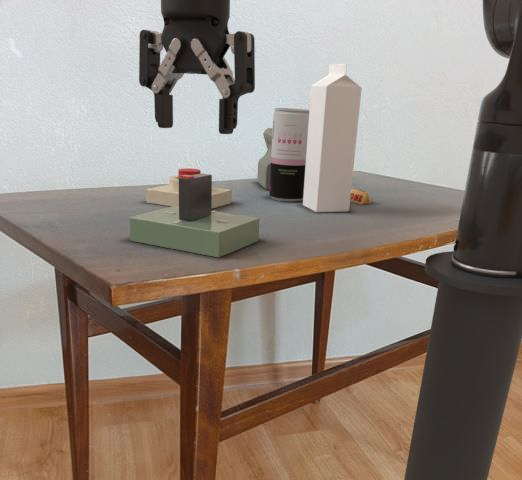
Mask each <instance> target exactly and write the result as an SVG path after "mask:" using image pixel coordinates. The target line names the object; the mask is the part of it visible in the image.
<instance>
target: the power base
mask: <svg viewBox="0 0 522 480" xmlns="http://www.w3.org/2000/svg"><path fill="white" fill-rule="evenodd" d="M232 193H233V190H232V189H226V188H219V187H213V186H212V209H216V208H220V207H224V206H226V205H230V204H232V200H233V199H232V198H233V194H232ZM145 196H146V198H145V199H146V203H147V204H153V205H160V206H166V207H172V206H176V205H177V206H179V179H178V175H173V176H170V177H169V178H168V184H165V185H159V186H155V187H149V188H146V190H145ZM212 209H211V210H212Z"/></svg>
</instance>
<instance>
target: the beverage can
mask: <svg viewBox="0 0 522 480" xmlns="http://www.w3.org/2000/svg"><path fill="white" fill-rule="evenodd" d="M309 110H310V109H308V108H307V109H306V108H294V107H293V108H292V107H291V108H289V107H274V111H273V113H272V128H273V130H272V151H271V171H270V190H268V193H269V194H268V195H269V197H270V198H271V199H272V200H274V201H278V202H289V203H294V202H303V194H304V180H305V166H306V152H307V138H308V124H309Z"/></svg>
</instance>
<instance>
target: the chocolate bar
mask: <svg viewBox="0 0 522 480" xmlns="http://www.w3.org/2000/svg"><path fill="white" fill-rule="evenodd" d="M350 203H353V204H358V205H362V206H363V205H371V204H372V202H371V199H370V195H369V192H367V191H363V190H359V189H355V188H351V196H350Z"/></svg>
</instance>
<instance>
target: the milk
mask: <svg viewBox="0 0 522 480" xmlns="http://www.w3.org/2000/svg"><path fill="white" fill-rule="evenodd" d="M362 89H363V88H362V87H361V86H360V85H359V84H358V83H357V82H356V81H354V80H353V79H352V78H351V77H350V76H348V75H347V63H329V68H328V74H327V75H326V76H324V77H322V78H321V79H319V80H317V81H316V82H314V83H313V84H311V86H310V97H309V109H308V110H309V124H308V138H307V152H306V166H305V180H304V194H303V200H302V206H303V207H306V208H307V209H309V210H311V211H313V212H314V213H342V212H343V213H345V212H349V211H350V205H351V202H350V196H351V189H352V186H353V185H352V184H353V175H354V166H355V157H356V149H357V148H356V147H357V138H358V137H357V136H358V129H359V128H358V127H359V117H360V110H361V108H360V107H361V99H362V98H361V97H362Z"/></svg>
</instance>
